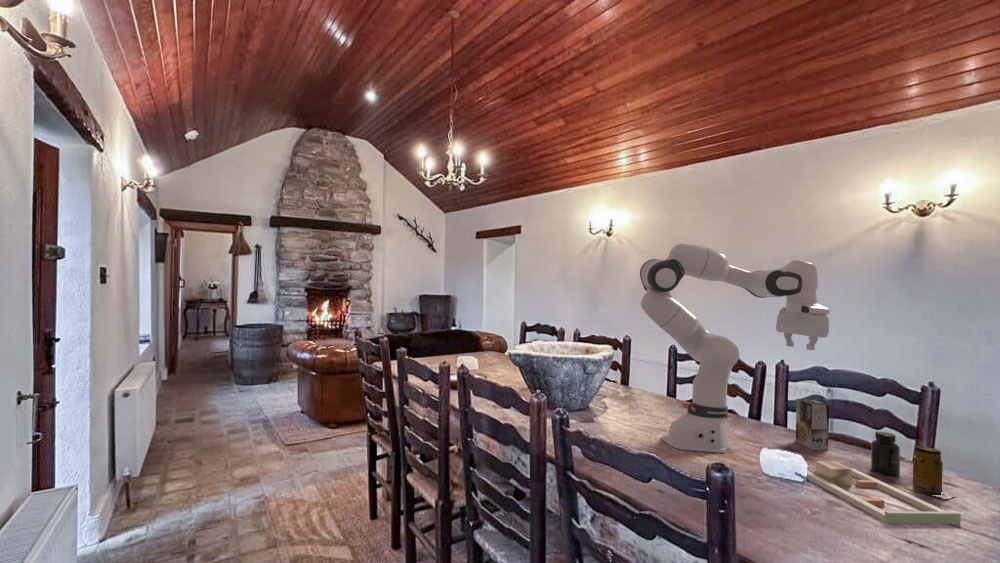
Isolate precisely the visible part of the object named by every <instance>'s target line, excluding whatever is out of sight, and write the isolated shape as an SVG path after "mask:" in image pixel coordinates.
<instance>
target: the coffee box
mask: <svg viewBox="0 0 1000 563" xmlns="http://www.w3.org/2000/svg"><path fill="white" fill-rule="evenodd" d="M795 402H796V405H795V406H796V407H795V408H796V410H795V442H796V443H797V444H800V445H802V446H804V447H805V448H808V449H810V450H815V451H816V450H817V451H829V437H830V435H829V434H830V433H829V431H830V430H829V429H830V404H827V403H825V402H822V401H819V400H817V399H813V398H811V399H810V398H796V401H795Z"/></svg>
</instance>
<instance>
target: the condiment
mask: <svg viewBox="0 0 1000 563" xmlns="http://www.w3.org/2000/svg"><path fill="white" fill-rule="evenodd" d="M941 455H942V451H940V450H939V449H937V448H933V447H930V446H926V445H925V446H923V445H917V446H915V452H914V455H913V457H912V459H913V460H912V462H913V465H912V485H911V486H906V487H905V489H907V490H911V491H914V492H916V493H919V494H924V495H927V496H930V497H933V498H936V499H940V500H944V501H946V500H945V499H943V498H939V497H936V496H931V495H941V492H943V463H944V462H943V460H942V456H941ZM928 494H929V495H928Z"/></svg>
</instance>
